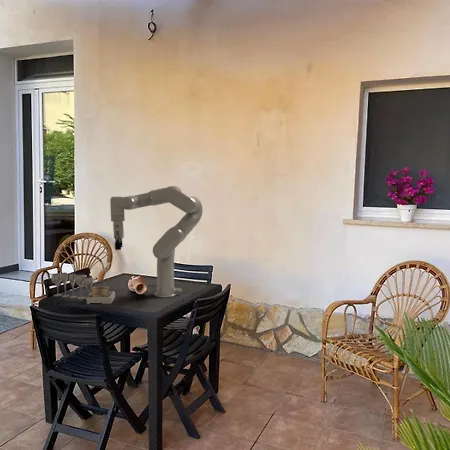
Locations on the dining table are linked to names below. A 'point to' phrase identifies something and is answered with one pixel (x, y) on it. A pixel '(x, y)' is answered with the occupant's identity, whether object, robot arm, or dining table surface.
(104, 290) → the small crate
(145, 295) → the dining table surface
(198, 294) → the dining table surface
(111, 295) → the grey square tray
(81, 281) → the goblet set
